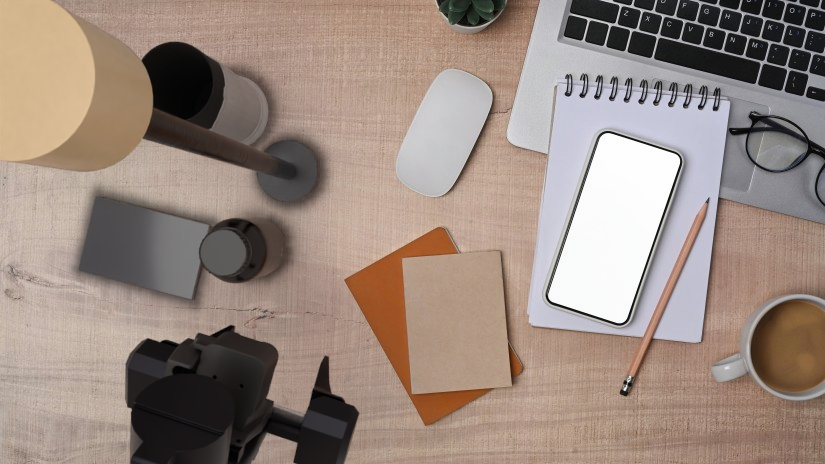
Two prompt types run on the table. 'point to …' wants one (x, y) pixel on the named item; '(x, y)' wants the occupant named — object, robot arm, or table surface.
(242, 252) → the supplement bottle
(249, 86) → the glass holder
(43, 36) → the desk lamp
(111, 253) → the slate tile
